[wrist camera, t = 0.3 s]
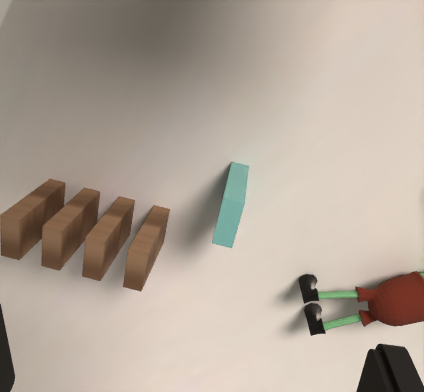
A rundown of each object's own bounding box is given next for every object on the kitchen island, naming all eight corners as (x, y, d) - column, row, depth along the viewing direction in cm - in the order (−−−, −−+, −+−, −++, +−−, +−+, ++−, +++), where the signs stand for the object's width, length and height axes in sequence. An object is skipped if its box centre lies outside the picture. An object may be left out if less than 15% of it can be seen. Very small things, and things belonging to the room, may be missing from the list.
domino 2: (84, 187, 48) (42, 226, 39) (99, 191, 48) (61, 231, 39) (81, 221, 50) (41, 265, 41) (96, 225, 50) (59, 270, 41)
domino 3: (119, 196, 48) (85, 237, 39) (134, 200, 48) (104, 242, 39) (115, 230, 50) (82, 276, 41) (130, 234, 50) (100, 280, 41)
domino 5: (231, 161, 44) (223, 197, 35) (248, 165, 44) (244, 203, 35) (222, 199, 46) (211, 243, 37) (238, 203, 46) (231, 248, 37)
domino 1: (49, 178, 48) (0, 215, 39) (65, 182, 48) (18, 220, 39) (48, 213, 50) (1, 255, 41) (63, 217, 50) (19, 260, 41)
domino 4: (154, 205, 48) (128, 248, 39) (169, 209, 48) (147, 253, 39) (148, 238, 50) (123, 286, 41) (163, 242, 50) (141, 291, 41)
